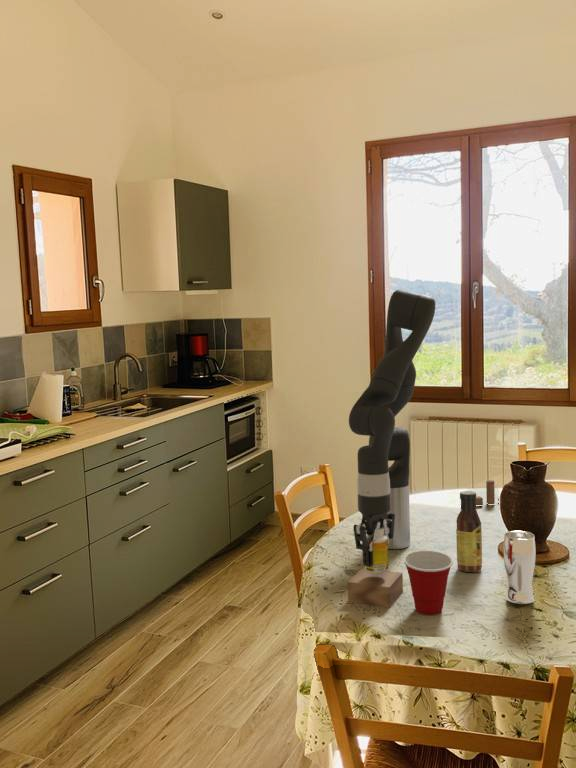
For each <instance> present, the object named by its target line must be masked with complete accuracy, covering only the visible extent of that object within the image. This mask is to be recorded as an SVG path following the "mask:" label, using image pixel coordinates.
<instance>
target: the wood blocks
mask: <svg viewBox="0 0 576 768" xmlns="http://www.w3.org/2000/svg"><path fill="white" fill-rule="evenodd" d="M485 483H486V485H485V486H486V504H487V503H488V504H494V503H496V502H495V499H496V498H495V497H496V496H495V495H496V493H495V492H496V491H495V480H492V479H488V480H486V482H485ZM498 501H499V497H497V502H498ZM476 505H483V506H484V499H483V497H482V496H478V495H477V496H476Z"/></svg>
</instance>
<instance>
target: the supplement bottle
mask: <svg viewBox="0 0 576 768" xmlns="http://www.w3.org/2000/svg"><path fill="white" fill-rule="evenodd" d="M366 536H368V537H372V535H368V534H367V533H366ZM367 544H368V545H369V540H367ZM372 551H373V566H371V567H368V566H365V565H364V564H363V568H364V569H365V571H367V572H368V573H372V574H380V573H384V572H386V571H389V549H388V540H387V536H386V535H384V528H383V527H381V528H379V529H378V533H377V538H376V541H374V542H373V549H372Z"/></svg>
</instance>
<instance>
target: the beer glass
mask: <svg viewBox="0 0 576 768" xmlns="http://www.w3.org/2000/svg"><path fill="white" fill-rule="evenodd" d="M535 539H536V538H535V534H533V533H532V532H530V531H525V530H524V531H523V530H511V531H507V532H505V533H504V538H503V562H504V569H505V572H506V574H505V575H506V580H507V590H506V595H505V599H506V601H508V602H510V603H512V604H517V605H528V604H532V603H534V601H535V597H534V592H533V577H534V572H535V567H536V559H537V558H536V557H537V556H536V552H537V551H536V541H535Z"/></svg>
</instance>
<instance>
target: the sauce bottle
mask: <svg viewBox="0 0 576 768" xmlns="http://www.w3.org/2000/svg"><path fill="white" fill-rule="evenodd" d="M476 497H477V493H476V492H475V491H473V490H472V491H469V490H467V491H466V490H465V491H461V492H459V499H460V505H461V508H460V512H459V513H458V514H457V517H456V534H455V535H456V562H457V569H458V570H459V571H460V572H464V573H473V574H474V573H478V572H480V571H481V570H482V567H483V565H482V564H483V544H482V543H483V542H482V541H483V540H482V539H483V538H482V537H483V535H482V534H483V533H482V522H481V519H480V517H479V513H478V511H477V507H476Z"/></svg>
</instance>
